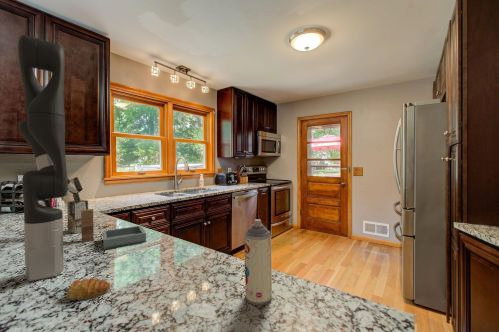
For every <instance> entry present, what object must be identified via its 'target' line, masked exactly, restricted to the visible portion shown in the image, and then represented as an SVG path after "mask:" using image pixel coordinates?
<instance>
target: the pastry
mask: <svg viewBox="0 0 499 332" xmlns="http://www.w3.org/2000/svg"><path fill="white" fill-rule="evenodd" d="M110 288H111V283H110V282H108V281H106V280H104V279H100V278H96V279H95V278H94V277H91V278H83V279H81V280H80V279H77V280H73V281H72V283H71V284H70V286H69V288H68V290H67V291H66V299H67V300H70V301H73V302H74V301H75V300H78V301H83V300H82V299H84V300H86V299H87V298H88V299H92V297H93V298H97V297H99V296H101V295H105V294H106V293H107V292H108V291H109V290H110ZM96 296H97V297H96ZM88 299H87V300H88Z"/></svg>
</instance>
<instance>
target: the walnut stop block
mask: <svg viewBox="0 0 499 332" xmlns="http://www.w3.org/2000/svg"><path fill="white" fill-rule="evenodd" d="M94 226H95V225H94V209H93V208H90V209H89V208H88V210H82V211H81V229H82V232H81V243H88V242H93V241H94V239H95V234H94V233H95V232H94Z"/></svg>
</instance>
